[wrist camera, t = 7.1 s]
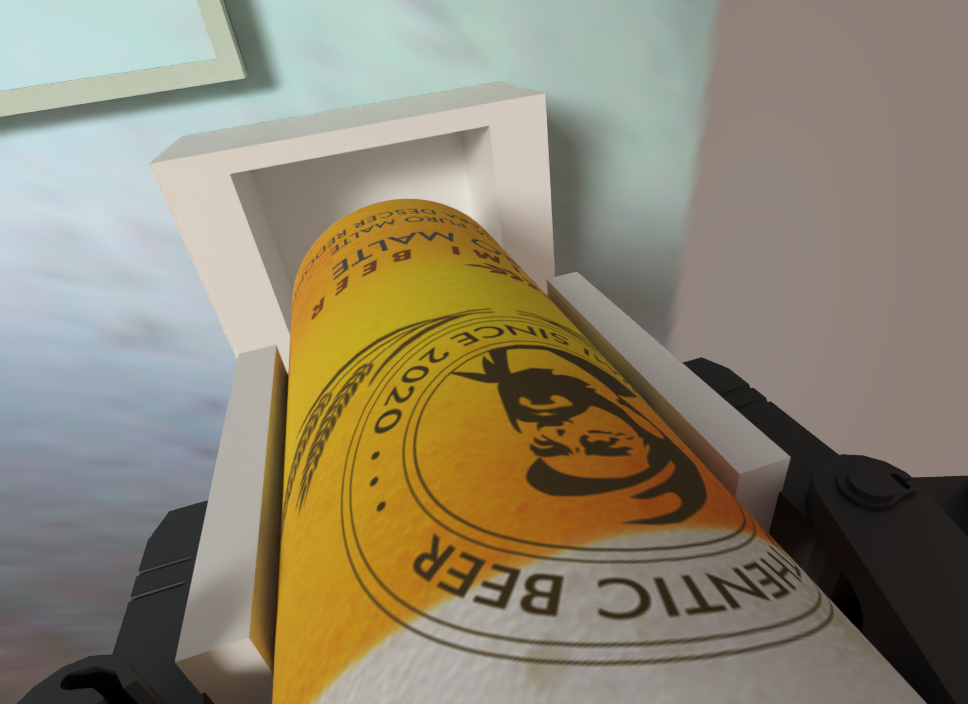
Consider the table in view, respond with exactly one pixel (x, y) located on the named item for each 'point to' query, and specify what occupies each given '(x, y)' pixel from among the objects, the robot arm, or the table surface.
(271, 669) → the robot arm
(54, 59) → the table surface
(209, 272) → the dock
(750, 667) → the beer can
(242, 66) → the empty picture frame
